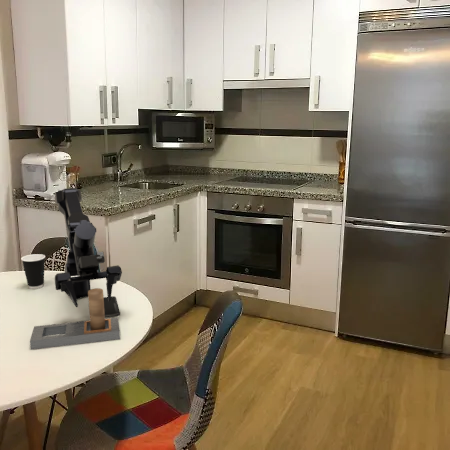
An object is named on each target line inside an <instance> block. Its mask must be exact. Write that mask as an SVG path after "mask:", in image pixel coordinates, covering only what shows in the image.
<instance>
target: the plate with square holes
mask: <svg viewBox="0 0 450 450" xmlns="http://www.w3.org/2000/svg"><path fill="white" fill-rule="evenodd" d="M120 333H121V332H120V321H119V317H107V318H105V329H101V330H92V331H91V327H90V320H82V321H73V322H64V323H63V322H62V323H54V324H53V323H52V324H44V325H35V326H33V329H32V332H31V336H30V339H29V344H30V345H29V346H30V350H37V349H38V350H39V349H46V348H55V347H56V348H57V347H64V346H72V345H83V344H90V343H98V342H107V341H116V340H120V339H121V334H120Z"/></svg>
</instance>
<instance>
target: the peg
mask: <svg viewBox="0 0 450 450" xmlns="http://www.w3.org/2000/svg"><path fill="white" fill-rule="evenodd" d="M87 298H88V309H89V321H90V327H91V331H92V330H101V329H105V319H106V318H105V313H104V289H102V288H99V287H97V288H91V290H89V291H88V296H87Z"/></svg>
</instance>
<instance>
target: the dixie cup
mask: <svg viewBox="0 0 450 450" xmlns="http://www.w3.org/2000/svg"><path fill="white" fill-rule="evenodd" d="M45 259H46V255H45V254H42V253H41V254H40V253H39V254H38V253H37V254H35V253H34V254H33V253H32V254H27V255H23V256H21V258H20V260H21V261H22V265H23V270H24V274H25V278H26V283H27V286H28V289H30V290H37V289H41V288H43V287H44V284H45Z"/></svg>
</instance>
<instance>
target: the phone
mask: <svg viewBox="0 0 450 450" xmlns="http://www.w3.org/2000/svg"><path fill="white" fill-rule="evenodd" d="M103 297H104V296H103ZM104 313H105V319H108V318H116V317H119V316H121V312H120V306H119V304H118V299H117V297H116V296H115V295H114V296H112V295H111V300H110V302H109V301H108V296H105V297H104Z"/></svg>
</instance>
